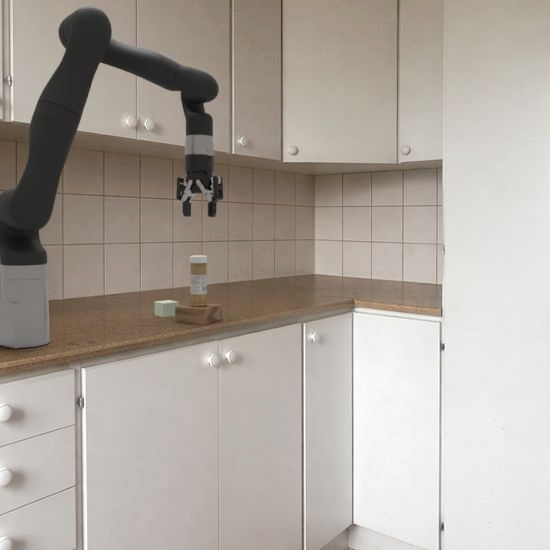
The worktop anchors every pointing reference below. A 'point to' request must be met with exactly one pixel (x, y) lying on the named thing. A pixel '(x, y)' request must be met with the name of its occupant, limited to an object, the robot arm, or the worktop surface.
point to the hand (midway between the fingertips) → (199, 216)
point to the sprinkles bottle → (198, 280)
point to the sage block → (165, 308)
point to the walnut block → (198, 314)
